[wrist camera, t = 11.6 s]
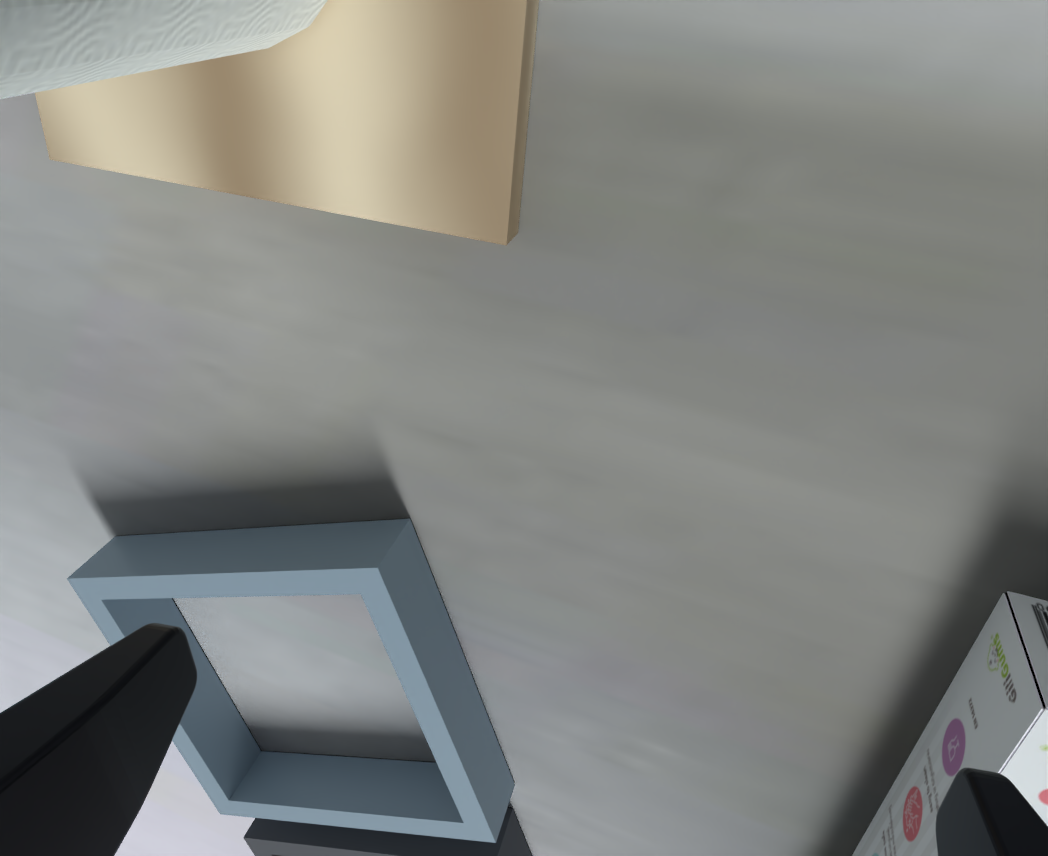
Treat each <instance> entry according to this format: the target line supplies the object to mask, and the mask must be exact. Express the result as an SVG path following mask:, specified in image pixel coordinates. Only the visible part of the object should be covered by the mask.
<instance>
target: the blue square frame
mask: <svg viewBox="0 0 1048 856" xmlns="http://www.w3.org/2000/svg"><path fill="white" fill-rule="evenodd" d="M67 580H68V581H69V583H70V584H71V586H72V587H73V589H74V590H75V592H76V593H77V595H78V596H79V598H80V599H81V601H82V603H83V604H84V606H85V607H86V609H87V610H88V612H89V613H90V615H91V616H92V618H93V619H94V621H95V623H96V624H97V626H98V627H99V629H100V630H101V632H102V633H103V635H104V636H105V638H106V639H107V641H108V642H109V644H110V646H111V645H113V644H114V643H116V642H118V641H119V640H121V639H123V638H124V637H126V636H127V635H129V634H131V633H132V632H134V631H136V630H137V629H139V628H141V627H142V626H144V625H147V624H150V623H160V624H166V625H171V626H177V627H180V628H181V629H182V630H184V632H185V634H186V636H187V639H188V642H189V645H190V649H191V652H192V655H193V658H194V662H195V665H196V668H197V683H196V687H195V690H194V692H193V695H192V697H191V699H190V701H189V704H188V706H187V708H186V710H185V713H184V715H183V717H182V719H181V721H180V724H179V726H178V728H177V730H176V733H175V735H174V737H173V739H172V741H173V742H174V744H175V745H176V747H177V749H178V750H179V752H180V753H181V755H182V756H183V758H184V759H185V761H186V762H187V764H188V765H189V767H190V768H191V770H192V772H193V773H194V775H195V776H196V778H197V779H198V781H199V782H200V784H201V785H202V787H203V788H204V790H205V792H206V793H207V795H208V796H209V798H210V799H211V801H212V802H213V804H214V805H215V807H216V808H217V810H218V811H219V813H220V814H224V815H234V816H243V817H253V818H262V819H272V820H281V821H291V822H301V823H310V824H320V825H329V826H339V827H348V828H358V829H368V830H377V831H387V832H396V833H406V834H415V835H425V836H435V837H444V838H454V839H463V840H473V841H482V842H492V843H496V841H497V838H498V835H499V832H500V829H501V826H502V823H503V820H504V816H505V813H506V810H507V807H508V804H509V801H510V798H511V795H512V792H513V789H514V786H515V784H514V781H513V779H512V776H511V774H510V771H509V768H508V766H507V763H506V761H505V758H504V756H503V753H502V751H501V748H500V746H499V743H498V741H497V738H496V735H495V733H494V730H493V728H492V725H491V723H490V720H489V718H488V715H487V713H486V710H485V708H484V705H483V702H482V700H481V697H480V695H479V692H478V690H477V687H476V685H475V682H474V680H473V677H472V675H471V672H470V669H469V667H468V664H467V662H466V659H465V657H464V654H463V652H462V649H461V647H460V644H459V642H458V639H457V636H456V634H455V631H454V629H453V626H452V624H451V621H450V619H449V616H448V614H447V611H446V608H445V606H444V603H443V601H442V598H441V596H440V593H439V591H438V588H437V586H436V583H435V581H434V578H433V575H432V573H431V570H430V568H429V565H428V563H427V560H426V558H425V555H424V553H423V550H422V548H421V545H420V542H419V540H418V537H417V535H416V532H415V530H414V527H413V525H412V522H411V520H410V519H396V520H379V521H363V522H346V523H329V524H313V525H296V526H280V527H263V528H246V529H230V530H213V531H197V532H180V533H163V534H147V535H130V536H115V537H114V538H113V539H112V540H111V541H110V542H108V543H107V544H106V545H105V546H104V547H103V548H102V549H100V550H99V551H98V552H97V553H96V554H95V555H94V556H92V557H91V558H90V559H89V560H88V561H87V562H86V563H84V564H83V565H82V566H81V567H80V568H79V569H77V570H76V571H75V572H74V573H73V574H72V575H71V576H69V577H68V578H67ZM341 594H361V596H362V598H363V600H364V602H365V605H366V607H367V609H368V611H369V613H370V616H371V618H372V620H373V622H374V625H375V627H376V629H377V631H378V633H379V636H380V638H381V640H382V642H383V645H384V647H385V649H386V651H387V653H388V656H389V658H390V660H391V662H392V665H393V667H394V669H395V671H396V673H397V676H398V678H399V680H400V682H401V685H402V687H403V689H404V691H405V693H406V696H407V698H408V700H409V702H410V705H411V707H412V709H413V711H414V713H415V716H416V718H417V720H418V722H419V725H420V727H421V729H422V731H423V733H424V736H425V738H426V740H427V742H428V745H429V747H430V749H431V751H432V753H433V756H434V758H435V760H436V762H437V763H432V762H417V761H402V760H387V759H372V758H356V757H341V756H326V755H311V754H296V753H281V752H266V751H261V750H260V748H259V747H258V745H257V743H256V741H255V740H254V738H253V736H252V735H251V733H250V731H249V729H248V728H247V726H246V724H245V723H244V721H243V719H242V718H241V716H240V714H239V712H238V711H237V709H236V707H235V706H234V704H233V702H232V700H231V699H230V697H229V695H228V694H227V692H226V690H225V688H224V687H223V685H222V683H221V682H220V680H219V678H218V677H217V675H216V673H215V671H214V670H213V668H212V666H211V665H210V663H209V661H208V659H207V658H206V656H205V654H204V653H203V651H202V649H201V648H200V646H199V644H198V642H197V641H196V639H195V637H194V636H193V634H192V632H191V630H190V629H189V627H188V625H187V624H186V622H185V620H184V618H183V617H182V615H181V613H180V612H179V610H178V608H177V607H176V605H175V603H174V601H173V600H172V598H201V597H247V596H294V595H341Z"/></svg>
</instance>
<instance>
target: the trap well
mask: <svg viewBox="0 0 1048 856" xmlns="http://www.w3.org/2000/svg"><path fill="white" fill-rule="evenodd" d="M244 839H245V841H246V842H247V844H248V845H249V847H250V849H251V850H252V852H253V853H254V855H255V856H532V855H531V853H530V850H529V848H528V845H527V843H526V840H525V838H524V835H523V833H522V830H521V828H520V825H519V823H518V820H517V818H516V815H515V813H514V810H513V809H511V808H507V810H506V813H505V816H504V820H503V823H502V826H501V829H500V832H499V835H498V838H497V841H496V843H492V842H482V841H473V840H463V839H454V838H444V837H435V836H425V835H415V834H406V833H396V832H387V831H377V830H368V829H358V828H348V827H339V826H329V825H320V824H310V823H301V822H291V821H281V820H272V819H262V818H255V820H254V821H253V823H252V825H251V826H250V828H249V829H248V831H247V833H246V834H245V836H244Z"/></svg>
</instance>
